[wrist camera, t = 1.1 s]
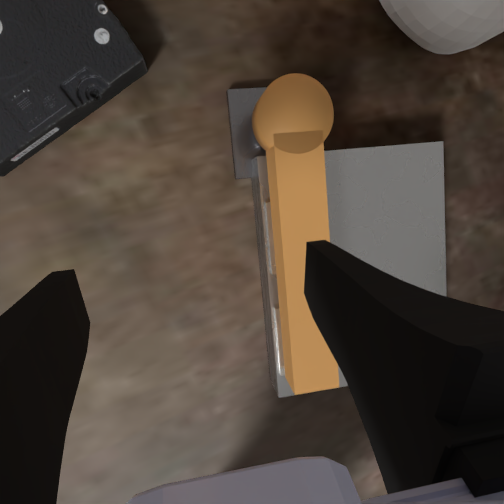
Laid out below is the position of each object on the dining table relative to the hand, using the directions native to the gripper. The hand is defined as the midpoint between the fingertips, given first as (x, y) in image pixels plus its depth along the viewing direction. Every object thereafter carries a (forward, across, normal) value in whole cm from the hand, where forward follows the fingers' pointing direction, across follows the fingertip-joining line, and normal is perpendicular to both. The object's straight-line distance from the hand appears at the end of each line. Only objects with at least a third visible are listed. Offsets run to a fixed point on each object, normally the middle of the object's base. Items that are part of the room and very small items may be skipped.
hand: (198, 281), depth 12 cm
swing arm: (+7, -5, +3) cm, 10 cm away
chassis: (+10, -10, +7) cm, 15 cm away
